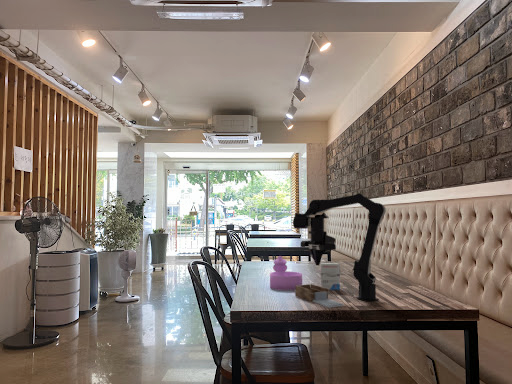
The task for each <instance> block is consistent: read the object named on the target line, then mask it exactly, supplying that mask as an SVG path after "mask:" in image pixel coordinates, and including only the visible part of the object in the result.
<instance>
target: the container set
mask: <svg viewBox="0 0 512 384" xmlns="http://www.w3.org/2000/svg"><path fill="white" fill-rule="evenodd" d="M287 262H288V261H287V260H286V259H285V258H283V256H282V255H279V256H277V258H276V259H274V260H273V265H272V268H273V272H270V273H269V288H270V289H273V290H278V291H295V285H297V286H298V285H303V273H301V272H297V271H287V269H288V265H287Z"/></svg>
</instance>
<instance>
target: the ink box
mask: <svg viewBox="0 0 512 384" xmlns="http://www.w3.org/2000/svg"><path fill="white" fill-rule="evenodd" d="M319 266H320V274H319V275H320V287H323V288H327V289H328V291H329V290H330V291H331V290H333V291H340V289H341V284H340V283H341V280H340V279H341V277H340V275H341V274H340V273H341V271H340V263H338V262H337V263H336V262H320V264H319Z"/></svg>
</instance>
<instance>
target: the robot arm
mask: <svg viewBox="0 0 512 384" xmlns="http://www.w3.org/2000/svg"><path fill="white" fill-rule="evenodd" d="M356 204H357V205H359V204H360V206H362V207H364V208H365V209H366V210H368V224H367V225H368V226H367V230H366V233H365V239H364V241H363V242H364V243H363V247H362V249H361V250H362V251H361V254H360V257H359V259H356V260H354V266H353V268H352V270H351V271H352V272H353V276H354V279H356V280H357V282H358V285H359V286H358V296H356V299H357V300H361V301H364V302H373V301H379V300H380V299H379V298H378V297H377V292H376V291H377V286H376V284H375V282H376V280H377V277H376V276H374V274H373V273H372V272H371V271H372V265H371V264H372V263H371V261H372V260H371V259H372V255H373V250H374V247H375V243H376V237H377V236H378V232H379V226H380V225H381V222H382V221H383V219H384V216H385V215H386V212H387V210H386V206H385V205H384V204H382V203H379V202H375V201H374V200H372V199H370V198H368V197H367V196H365V194H363V193H356V194H352V195H347V196H342V197H337V198H331V199H313V200H311V201H310V203H309V204H308V207H307V209H306V211H305V212H304V213H300V212H299V213H298V212H296V213H294V216H293V221H292V226H293V229H297V230H298V229H301V230H302V229H303V230H304V229H306V230H307V229H309V227H310V230H308V234H310V239H309V240H301V241H300V248H305V247H307V251H308V252H309V254H310V255H311V257H312V261H314V264H315V265H316V266H320V263H321V261H322V257H323V255H324V253H325V252H326V251H334V250H335V251H336V250H337V245H336V240H337V238H335V237H333V236H331V235H328V233H327V231H326V230H325V219H329V216H328V215H327V214H326V213H325V212H327V211H329V210H332V209H336V208H341V207H345V206H351V205H356Z"/></svg>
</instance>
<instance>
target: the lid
mask: <svg viewBox="0 0 512 384" xmlns="http://www.w3.org/2000/svg"><path fill="white" fill-rule="evenodd" d="M312 303H315V304H318V305H320V306H323V307H325V308H328V309H329V308H338V307H343V306H344V304H343V303H341V302H338V301H336V300H333V299H329V298H328V299H327V292H315V300H313V302H312Z"/></svg>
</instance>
